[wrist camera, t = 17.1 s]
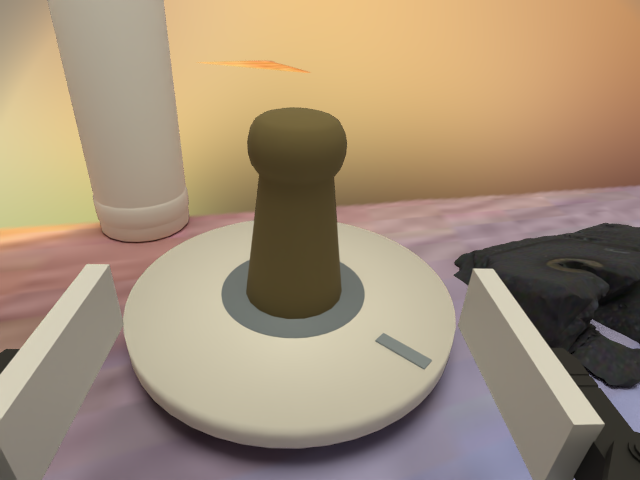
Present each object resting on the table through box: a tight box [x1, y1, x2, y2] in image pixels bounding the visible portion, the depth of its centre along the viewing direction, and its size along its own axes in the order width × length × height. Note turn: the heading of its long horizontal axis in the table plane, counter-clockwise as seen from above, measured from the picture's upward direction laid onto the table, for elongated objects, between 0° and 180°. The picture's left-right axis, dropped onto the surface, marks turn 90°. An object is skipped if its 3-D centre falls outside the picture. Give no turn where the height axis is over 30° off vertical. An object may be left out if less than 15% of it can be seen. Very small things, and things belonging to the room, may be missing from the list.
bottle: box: [47, 0, 189, 242], centre depth 33 cm, size 8×8×30 cm
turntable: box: [123, 221, 456, 449], centre depth 27 cm, size 20×20×2 cm
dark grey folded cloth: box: [454, 223, 640, 387], centre depth 33 cm, size 15×22×5 cm
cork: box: [246, 108, 347, 319], centre depth 24 cm, size 6×6×11 cm
